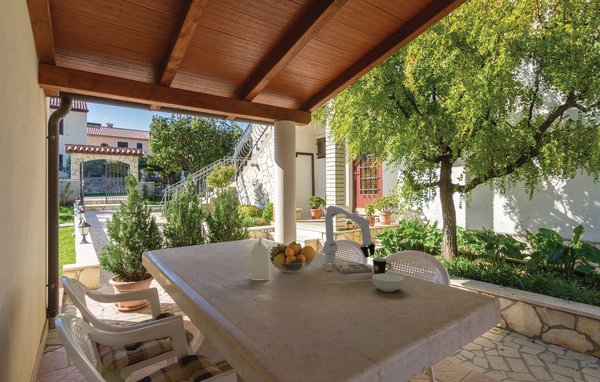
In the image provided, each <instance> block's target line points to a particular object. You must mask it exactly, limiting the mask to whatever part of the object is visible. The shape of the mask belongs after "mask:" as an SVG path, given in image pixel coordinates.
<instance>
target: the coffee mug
mask: <svg viewBox="0 0 600 382" xmlns="http://www.w3.org/2000/svg"><path fill="white" fill-rule="evenodd" d="M387 265H388V266H389V267H388V269H386V267H387ZM372 266H373V272H374V274H373V275H375V274H386V272H388V271H389V270H390V269H392V268H391V267H392V266H391V263H389V262H387V259H385V258H382V257H377V258H372Z"/></svg>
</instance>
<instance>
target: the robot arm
mask: <svg viewBox="0 0 600 382" xmlns="http://www.w3.org/2000/svg"><path fill="white" fill-rule="evenodd" d="M339 214H342V215H344V216H346V217H348V218H350V221H352V222H354V223H355V224H357V225H358V227H360V231H361V232H360V233H361V239H362V243H361V244H360V247H359V248H360V251H362V254H363V256H364V258H369V254H370V256H371V257H372V256H374V255H375V248H376V246H377V245H376V244H375V241H374V240H373V241H372V236H371V230H370V224H371V221H370V219H369V218H368V217H364V216H363V215H360V214H359V213H358V212H353V213H352V212H351V211H349V210H347V208H344V207H343V206H341V205H339V204H336V205H329V206H328V207H326V211H325V215H324V221H325V241H324V242H323V252H324V254H325V255H324V264H326V265H325V266H327V264H328V263H331V264H332V267H333V266H336V265H335V264H336V253H337V251H338V246H337V242H336V240H335V237H334V235H335V234H334V233H335V232H334V218H335V217H336V216H337V215H339Z"/></svg>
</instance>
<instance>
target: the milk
mask: <svg viewBox="0 0 600 382" xmlns="http://www.w3.org/2000/svg"><path fill="white" fill-rule="evenodd" d="M271 265H272V263H271V248H270V246H269V245H268V244H267V242H266V241H264V239H263V235H259V237H258V242H257V241H256V242H255V243H254V244H253V247H252V248H251V251H250V279H264V280H269V279H270V280H271V277H272V266H271ZM270 276H271V277H270ZM270 280H269V281H270Z"/></svg>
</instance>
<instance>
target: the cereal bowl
mask: <svg viewBox="0 0 600 382" xmlns="http://www.w3.org/2000/svg"><path fill="white" fill-rule="evenodd" d="M404 280H405V279H404V277H403V276H402V275H399V274H393V273H385V274H373V275H372V277H371V281H372V284H373V286H374V287H376V288H377V289H379V290H380V291H382V292H385V293H386V292H388V293H393V292H395V291H397V290H400V289H401V288H403V286H404Z"/></svg>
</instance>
